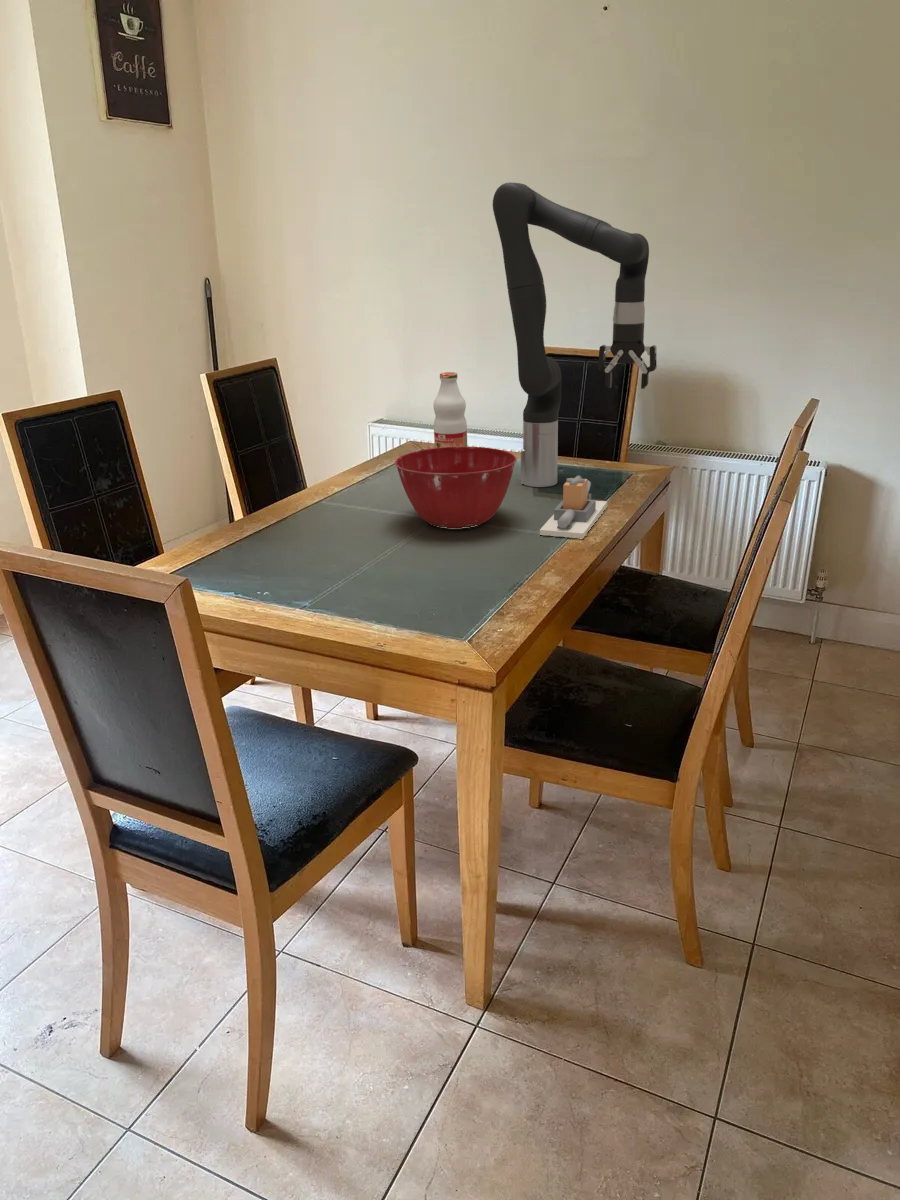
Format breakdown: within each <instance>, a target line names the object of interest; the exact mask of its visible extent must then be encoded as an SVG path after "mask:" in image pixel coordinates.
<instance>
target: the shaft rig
mask: <svg viewBox="0 0 900 1200" xmlns="http://www.w3.org/2000/svg"><path fill="white" fill-rule="evenodd" d="M591 486H592V482H591V481H590V480H588V484H587V506H586V507H585V509H584V510H572V509H563V499H562V500H560V502H559V503H558V505H557V506H556V507H555V508H554V509H553V514H552V516H551V517H549V519H548V520H547V521H546V522H545V524H543V525H542V527H541V528H540V529H539V536H540V535H551V536H564V537H577V538H578V537H580V538H584V536H585V535H586V534H587V532H588V531H589V530H590V529H591V527H592V526H593V525H594V526H595V524H596V523H597V522H598V520H599V519H600V518H601V516H602V515H603V513H604V512H605V511H606V509H607V508H608V501H605V500H596V499H592V493H589V491H590V489H591ZM604 510H605V511H604ZM603 511H604V512H603ZM601 514H602V515H601ZM599 517H600V518H599ZM598 518H599V519H598ZM596 521H597V522H596ZM595 522H596V523H595ZM594 523H595V524H594ZM594 526H593V527H594ZM593 527H592V528H593ZM591 530H592V529H591ZM591 530H590V531H591ZM590 531H589V532H590ZM587 535H588V534H587ZM587 535H586V536H587ZM584 539H585V538H584Z"/></svg>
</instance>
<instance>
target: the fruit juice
mask: <svg viewBox="0 0 900 1200" xmlns="http://www.w3.org/2000/svg"><path fill="white" fill-rule="evenodd" d="M457 380H458V373H457V372H454V371H453V372H451V371H450V372H449V371H446V372H441V373H439V381H440V386H439V389H438V392H437V395H436V397H435V399H434V401H433V411H434V414H435V418H434V421H433V436H434V437H433V438H434V441H433V443H434V444H435V443H436V445H437V448H440V445H441V443H442V444H443V447H447V444H448V443H449V446H450V447H453V445H454V443H455V445H456V447H459V446H460V443H461V444H462V446H463V447H465V446H466V447H468V425H467V424H468V423H467V419H466V417H465V412H466V408H467V406H466V405H467V404H466V403H467V402H466V400H465V398H464V397H463V395H462V394H461V391H460V389H459V386H458V383H457V382H458V381H457ZM434 444H433V445H434Z"/></svg>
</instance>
